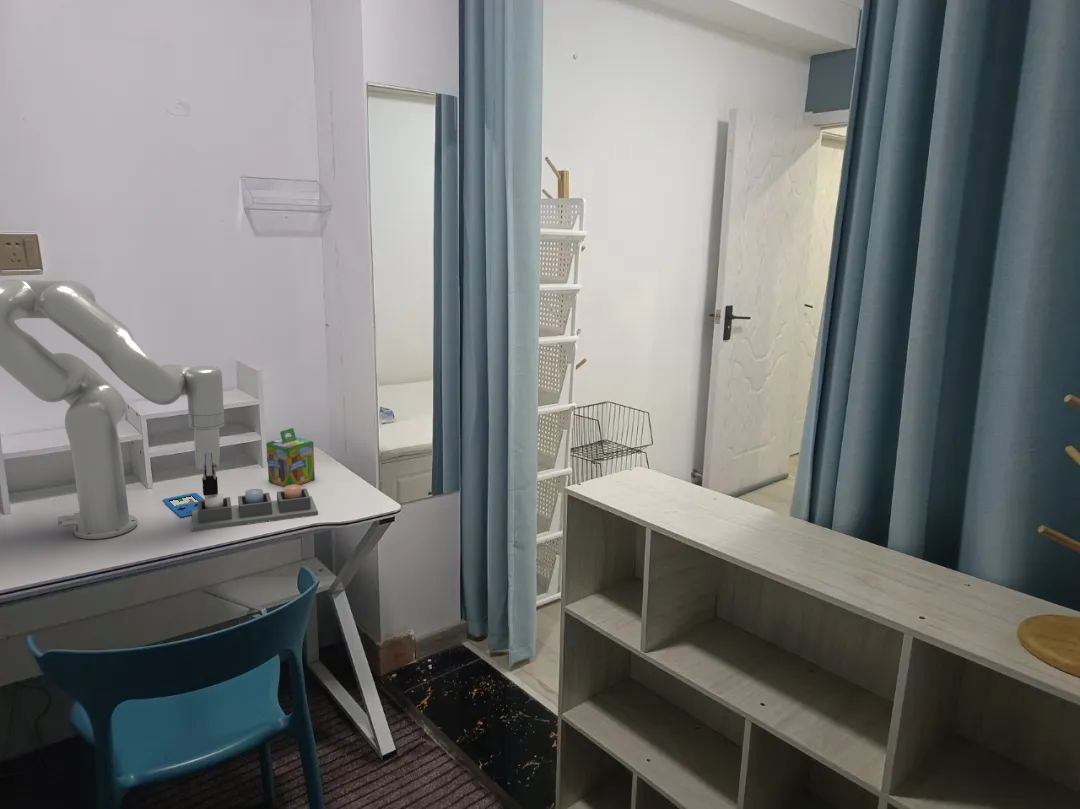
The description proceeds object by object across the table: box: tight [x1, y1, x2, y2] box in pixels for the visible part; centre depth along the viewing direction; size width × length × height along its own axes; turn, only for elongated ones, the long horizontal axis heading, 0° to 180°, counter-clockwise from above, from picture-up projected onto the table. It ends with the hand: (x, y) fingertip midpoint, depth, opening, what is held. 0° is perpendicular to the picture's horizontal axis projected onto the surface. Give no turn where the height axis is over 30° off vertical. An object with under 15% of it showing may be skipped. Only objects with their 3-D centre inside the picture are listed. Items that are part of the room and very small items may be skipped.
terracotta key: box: [283, 484, 302, 500], centre depth 180 cm, size 4×4×3 cm
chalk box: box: [265, 427, 316, 487], centre depth 199 cm, size 9×9×15 cm
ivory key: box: [204, 492, 224, 509], centre depth 172 cm, size 4×4×3 cm
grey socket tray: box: [191, 487, 319, 532], centre depth 176 cm, size 28×11×4 cm, turn 115°
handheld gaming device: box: [162, 492, 205, 519], centre depth 181 cm, size 8×1×15 cm
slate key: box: [244, 488, 264, 504], centre depth 176 cm, size 4×4×3 cm
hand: (210, 493), depth 172 cm, fingers closed
